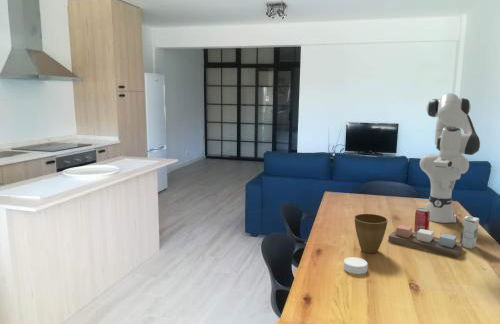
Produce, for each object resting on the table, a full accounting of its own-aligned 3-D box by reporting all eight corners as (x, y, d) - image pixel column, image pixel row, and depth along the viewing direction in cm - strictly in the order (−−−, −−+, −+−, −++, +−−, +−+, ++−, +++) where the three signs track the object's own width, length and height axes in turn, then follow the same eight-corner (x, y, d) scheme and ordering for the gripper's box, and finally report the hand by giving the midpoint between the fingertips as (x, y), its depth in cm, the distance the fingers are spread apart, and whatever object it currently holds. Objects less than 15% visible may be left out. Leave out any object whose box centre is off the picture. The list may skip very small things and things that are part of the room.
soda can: (429, 235, 199) (432, 212, 197) (415, 234, 201) (417, 211, 198) (426, 231, 206) (428, 208, 204) (412, 230, 208) (414, 207, 205)
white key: (420, 236, 190) (420, 228, 189) (432, 239, 186) (433, 231, 185) (416, 239, 185) (417, 232, 185) (429, 242, 182) (430, 234, 181)
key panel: (396, 234, 201) (396, 229, 200) (462, 249, 182) (462, 243, 181) (388, 241, 191) (388, 235, 190) (456, 257, 172) (457, 251, 171)
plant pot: (385, 246, 184) (387, 215, 181) (385, 258, 170) (387, 224, 168) (353, 242, 189) (355, 211, 186) (351, 254, 175) (353, 221, 172)
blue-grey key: (441, 241, 184) (442, 233, 183) (455, 244, 180) (456, 236, 179) (438, 244, 179) (439, 236, 178) (452, 247, 175) (453, 239, 175)
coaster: (363, 277, 153) (364, 269, 153) (339, 271, 158) (340, 263, 158) (370, 267, 162) (370, 260, 161) (347, 262, 167) (347, 254, 166)
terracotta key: (399, 231, 196) (400, 224, 195) (411, 234, 192) (412, 227, 192) (395, 235, 191) (396, 227, 191) (408, 237, 188) (408, 230, 187)
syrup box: (463, 242, 190) (466, 215, 187) (476, 246, 185) (479, 217, 183) (459, 246, 186) (462, 217, 183) (472, 249, 181) (476, 220, 179)
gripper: (452, 159, 187) (449, 186, 189) (431, 162, 174) (428, 191, 176) (465, 160, 182) (463, 189, 184) (445, 163, 169) (442, 193, 171)
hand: (446, 190), depth 180 cm, fingers open, 8 cm apart
